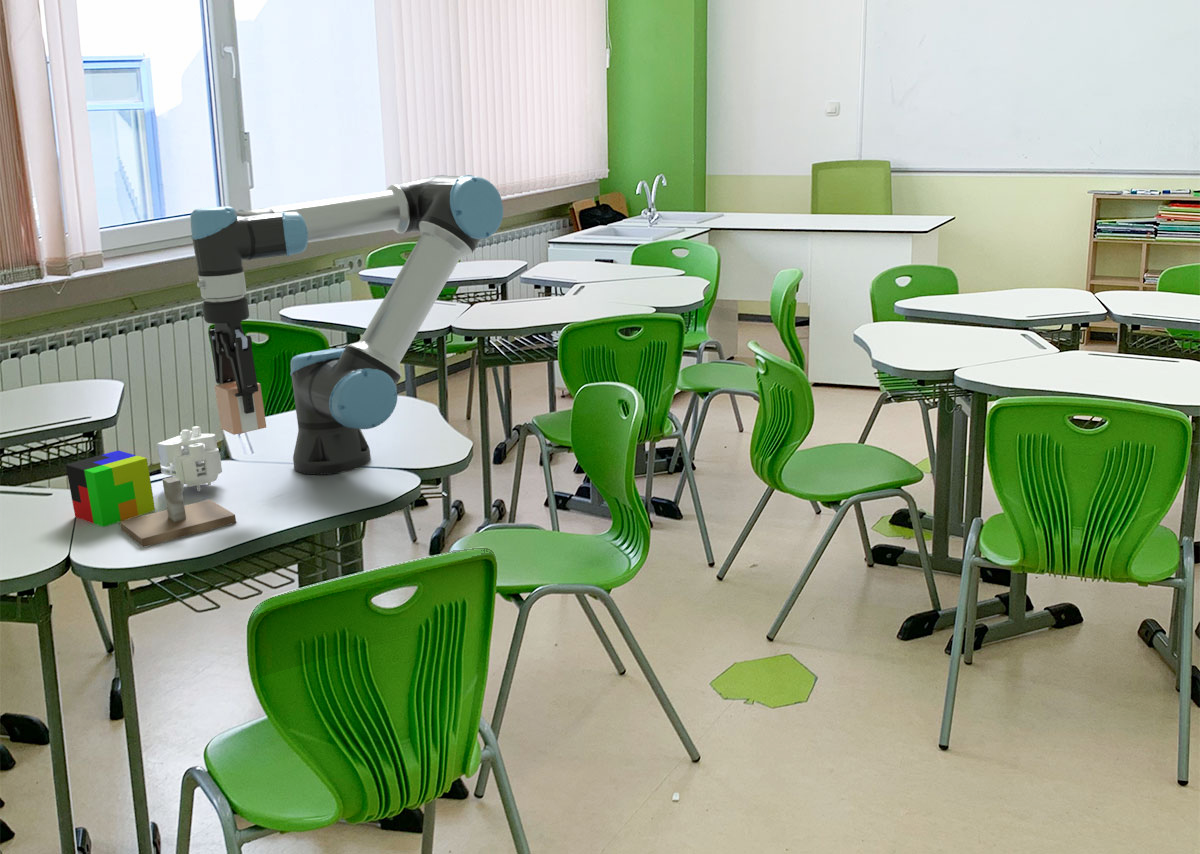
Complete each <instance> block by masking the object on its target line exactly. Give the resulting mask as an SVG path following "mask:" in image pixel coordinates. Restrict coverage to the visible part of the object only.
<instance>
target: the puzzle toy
mask: <svg viewBox="0 0 1200 854" xmlns="http://www.w3.org/2000/svg"><path fill="white" fill-rule="evenodd" d="M148 462H149V461H148V458H147V457H143V456H140V455H136V454H133V453H129V452H125V451H121V450H115V451H110V452H108V453H103V454H99V455H96V456H92V457H89V458H84V459H80V460H78V461H74V462H70V463H66V464H65V467H66V468H65V469H66V473H67V479H68V486H69V489H70V490H69V491H70V494H71V495H70V497H71V501H72V507H73V512H74V517H75V516H76V517H75V518H77V519H80V520H83V521H86V522H89V523H90V524H91V523H92V524H94V525H96V526H100V527H102V528H103V527H104V528H105V527H109V526H111V525H114V524H116V523H117V524H118V523H120V521H124V520H128V519H132V518H136V517H140V516H144V515H147V514H149V513H152V512H155V511H156V507H155V500H154V494H153V487H152V483H151V482H152V481H151V475H150V470H149V463H148Z"/></svg>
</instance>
